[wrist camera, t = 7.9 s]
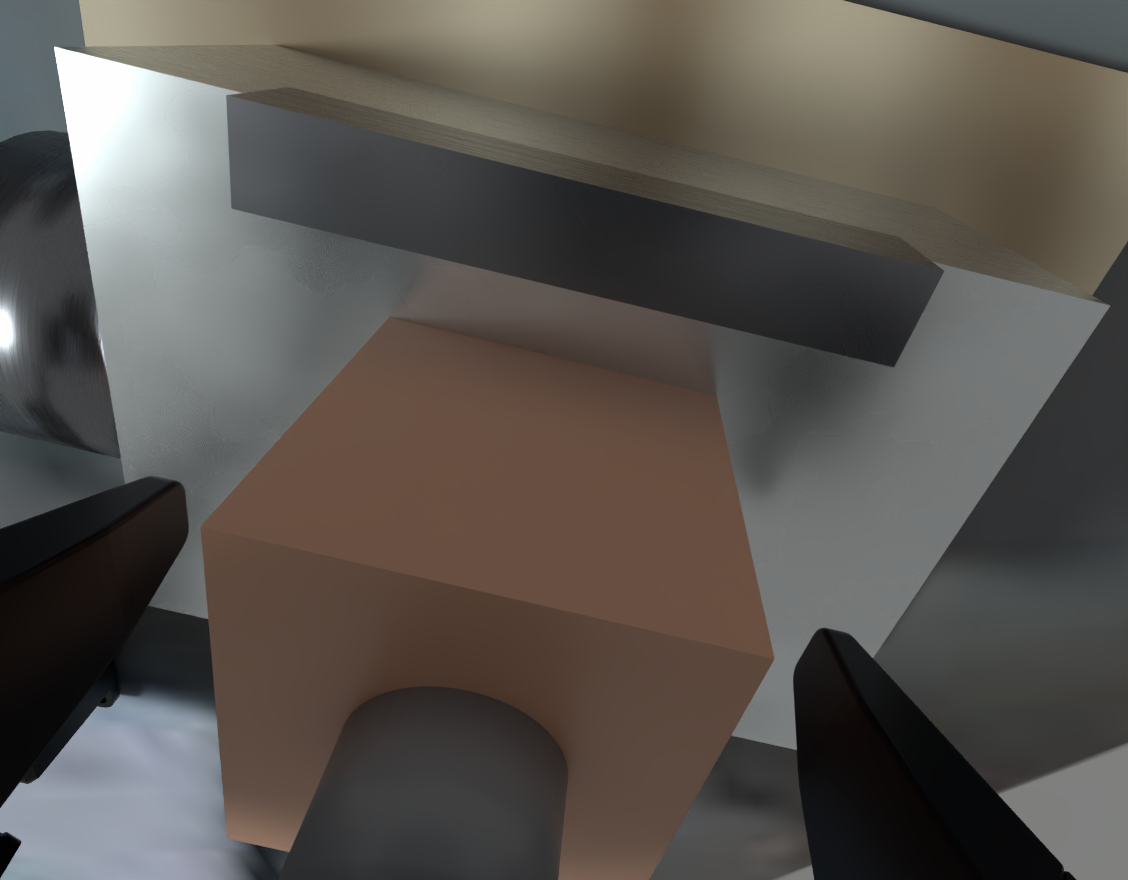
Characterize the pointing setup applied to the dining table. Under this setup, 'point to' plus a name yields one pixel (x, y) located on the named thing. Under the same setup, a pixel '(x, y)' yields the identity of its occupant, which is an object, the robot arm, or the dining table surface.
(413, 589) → the brown block with knob
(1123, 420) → the dining table surface
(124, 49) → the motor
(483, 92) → the mounting board
